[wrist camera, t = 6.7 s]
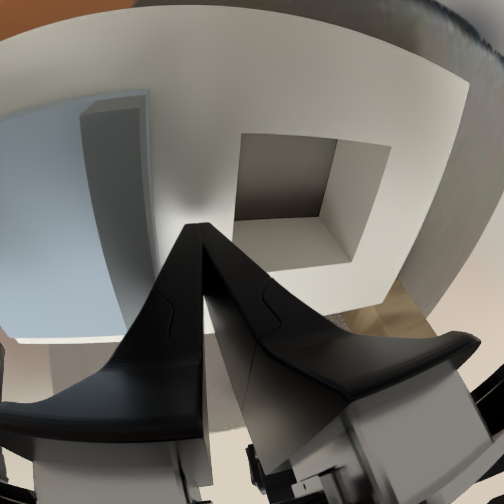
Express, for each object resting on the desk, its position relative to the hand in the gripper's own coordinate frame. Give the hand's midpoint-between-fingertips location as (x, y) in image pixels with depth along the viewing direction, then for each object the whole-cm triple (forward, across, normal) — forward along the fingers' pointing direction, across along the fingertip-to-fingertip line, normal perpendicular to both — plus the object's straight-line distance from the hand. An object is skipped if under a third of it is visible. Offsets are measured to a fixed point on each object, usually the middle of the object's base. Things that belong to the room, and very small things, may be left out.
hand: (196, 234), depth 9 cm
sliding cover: (+1, +5, 0) cm, 5 cm away
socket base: (+5, 0, 0) cm, 5 cm away
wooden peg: (+5, -14, +11) cm, 19 cm away
